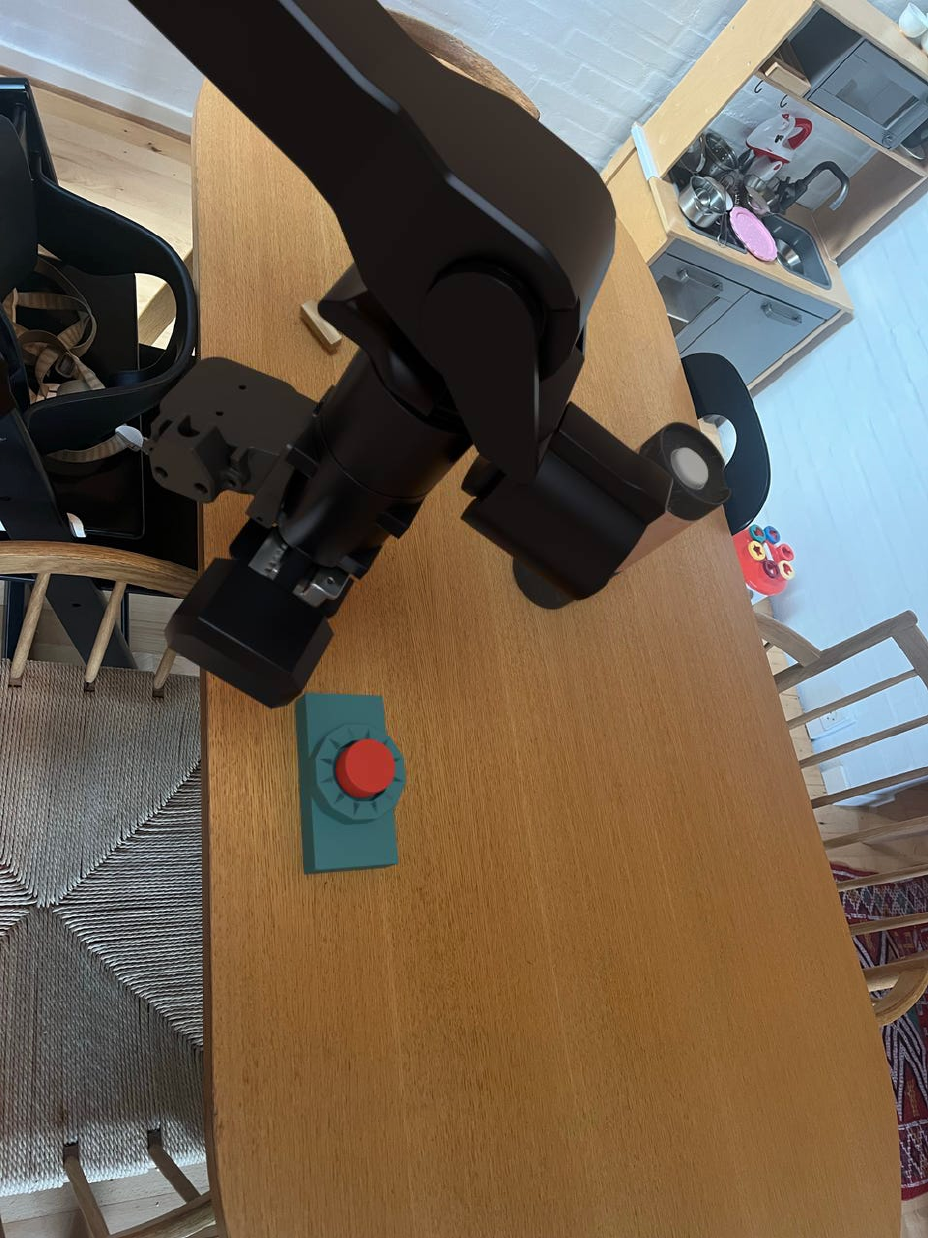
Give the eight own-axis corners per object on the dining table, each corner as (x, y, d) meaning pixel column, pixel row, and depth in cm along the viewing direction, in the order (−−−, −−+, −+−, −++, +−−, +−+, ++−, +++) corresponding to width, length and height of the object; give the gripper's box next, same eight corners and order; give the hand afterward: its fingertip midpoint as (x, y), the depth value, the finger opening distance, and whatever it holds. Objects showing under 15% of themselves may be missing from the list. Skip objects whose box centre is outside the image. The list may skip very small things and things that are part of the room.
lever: (328, 355, 71) (331, 341, 68) (298, 316, 71) (300, 300, 68) (473, 272, 77) (481, 257, 75) (446, 237, 77) (452, 220, 75)
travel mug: (495, 563, 71) (644, 440, 56) (538, 528, 76) (685, 406, 61) (547, 627, 72) (709, 522, 56) (587, 588, 76) (746, 481, 61)
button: (333, 745, 52) (343, 738, 51) (381, 745, 54) (392, 738, 52) (337, 799, 50) (347, 793, 49) (386, 797, 52) (398, 791, 51)
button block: (291, 701, 56) (311, 683, 52) (373, 704, 59) (396, 687, 56) (299, 875, 51) (322, 866, 48) (388, 867, 54) (414, 859, 51)
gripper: (318, 214, 36) (227, 414, 48) (69, 463, 25) (31, 641, 37) (506, 364, 39) (375, 517, 51) (356, 647, 28) (235, 758, 40)
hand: (268, 594), depth 44 cm, fingers closed
